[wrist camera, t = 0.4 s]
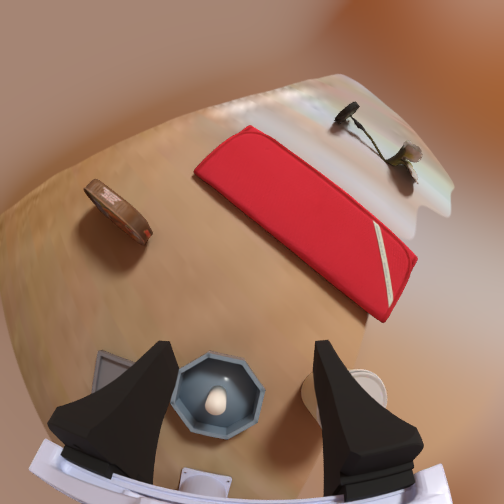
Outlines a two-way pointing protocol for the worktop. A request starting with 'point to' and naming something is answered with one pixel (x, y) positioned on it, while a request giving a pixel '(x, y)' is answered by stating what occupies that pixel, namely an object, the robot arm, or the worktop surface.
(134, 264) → the worktop surface
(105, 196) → the tin
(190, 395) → the blue-grey octagonal bowl
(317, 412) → the coffee cup
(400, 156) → the artificial flower
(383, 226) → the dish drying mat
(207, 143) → the worktop surface
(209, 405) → the dowel pin
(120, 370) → the tray
